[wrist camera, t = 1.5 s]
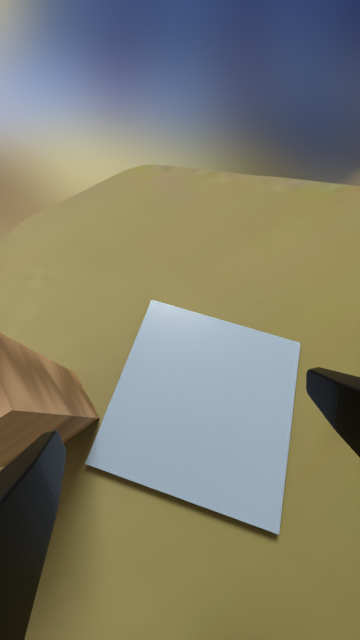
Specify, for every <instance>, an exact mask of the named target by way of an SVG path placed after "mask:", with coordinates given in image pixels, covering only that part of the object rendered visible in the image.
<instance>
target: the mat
mask: <svg viewBox="0 0 360 640" xmlns="http://www.w3.org/2000/svg"><path fill="white" fill-rule="evenodd" d="M299 351H300V343H299V342H295V341H292V340H289V339H285V338H282V337H278V336H275V335H271V334H268V333H264V332H261V331H258V330H254V329H251V328H247V327H244V326H240V325H237V324H234V323H230V322H227V321H223V320H220V319H216V318H213V317H209V316H206V315H203V314H199V313H196V312H192V311H189V310H185V309H182V308H178V307H175V306H172V305H168V304H165V303H161V302H158V301H154V300H151V303H150V305H149V307H148V310H147V312H146V315H145V317H144V320H143V322H142V325H141V327H140V330H139V332H138V335H137V337H136V340H135V342H134V344H133V347H132V349H131V352H130V354H129V357H128V359H127V362H126V364H125V367H124V369H123V372H122V374H121V377H120V379H119V381H118V384H117V386H116V389H115V391H114V394H113V396H112V399H111V401H110V404H109V406H108V409H107V411H106V414H105V416H104V418H103V421H102V423H101V426H100V428H99V431H98V433H97V436H96V438H95V441H94V443H93V446H92V448H91V451H90V453H89V456H88V458H87V460H86V463H85V464H87V465H90V466H93V467H95V468H98V469H101V470H103V471H106V472H109V473H112V474H114V475H117V476H120V477H123V478H125V479H128V480H131V481H133V482H136V483H139V484H142V485H144V486H147V487H150V488H153V489H155V490H158V491H161V492H164V493H166V494H169V495H172V496H174V497H177V498H180V499H183V500H185V501H188V502H191V503H194V504H196V505H199V506H202V507H205V508H207V509H210V510H213V511H215V512H218V513H221V514H224V515H226V516H229V517H232V518H235V519H237V520H240V521H243V522H245V523H248V524H251V525H254V526H256V527H259V528H262V529H265V530H267V531H270V532H273V533H276V534H278V535H279V529H280V520H281V511H282V502H283V494H284V485H285V476H286V467H287V458H288V449H289V440H290V431H291V422H292V413H293V404H294V395H295V387H296V378H297V369H298V360H299Z"/></svg>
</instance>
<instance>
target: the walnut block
mask: <svg viewBox="0 0 360 640" xmlns="http://www.w3.org/2000/svg"><path fill="white" fill-rule="evenodd" d="M98 419H99V416H98V414H97V412H96V411H95V409H94V407H93V405H92V403H91V402H90V400H89V398H88V396H87V394H86V392H85V391H84V389H83V387H82V385H81V383H80V382H79V380H78V378H77V376H76V374H75V373H74V372H72V371H70V370H68V369H67V368H65V367H63V366H61V365H59V364H57V363H55V362H53V361H52V360H50V359H48V358H46V357H44V356H42V355H40V354H38V353H37V352H35V351H33V350H31V349H29V348H27V347H25V346H23V345H22V344H20V343H18V342H16V341H14V340H12V339H10V338H8V337H7V336H5V335H3V334H1V333H0V467H1V466H5V465H8V464H9V463H10V462H11V461H13V460H14V459H15V458H16V457H17V456H18V455H19V454H20V453H21V452H23V451H24V450H25V449H26V448H27V447H28V446H29V445H30V444H32V443H33V442H34V441H35V440H36V439H37V438H38V437H39V436H40V435H42V434H43V433H45V432H48V431H52V430H57V431H58V432H59V433H60V436H61V438H62V441H63V443H65V442H67V441H68V440H69V439H71V438H72V437H74V436H75V435H76V434H78V433H79V432H81V431H82V430H84V429H85V428H86V427H88V426H89V425H91V424H92V423H94V422H95V421H96V420H98Z"/></svg>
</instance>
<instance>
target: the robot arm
mask: <svg viewBox="0 0 360 640" xmlns="http://www.w3.org/2000/svg"><path fill="white" fill-rule="evenodd" d="M306 390H307V393H308V395H309V396H310V398H311V399H312V400H313V402H314V403H315V404H316V406H317V407H318V408H319V410H320V411H321V412H322V413H323V415H324V416H325V417H326V419H327V420H328V421H329V423H330V424H331V425H332V427H333V428H334V429H335V430H336V432H337V433H338V434H339V435H340V436H341V437H342V438H343V439H344V441H345V442H346V443H347V444H348V445H349V446H350V447H351V448H352V449H353V451H354V452H355V453H356V454H357V455H358V456H359V457H360V377H356V376H352V375H348V374H344V373H340V372H336V371H332V370H328V369H324V368H320V367H317V368H312V369H309V370H308V371H307V374H306ZM65 460H66V449H65V446H64V443H63V441H62V438H61V436H60V433H59V432H58V431H57V430H52V431H48V432H45V433H43V434H42V435H40V436H39V437H38V438H37V439H36V440H35V441H34V442H33V443H32V444H30V445H29V446H28V447H27V448H26V449H25V450H24V451H23V452H21V453H20V454H19V455H18V456H17V457H16V458H15V459H14V460H13V461H11V462H10V463H9V464H8V465H7V466H6V467H5V468H4V469H2V470H1V471H0V640H24V639H25V635H26V631H27V627H28V623H29V619H30V615H31V611H32V608H33V604H34V600H35V596H36V592H37V588H38V584H39V580H40V576H41V572H42V568H43V564H44V561H45V557H46V553H47V549H48V545H49V541H50V537H51V533H52V529H53V525H54V521H55V518H56V513H57V509H58V504H59V499H60V492H61V486H62V479H63V473H64V466H65Z"/></svg>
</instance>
